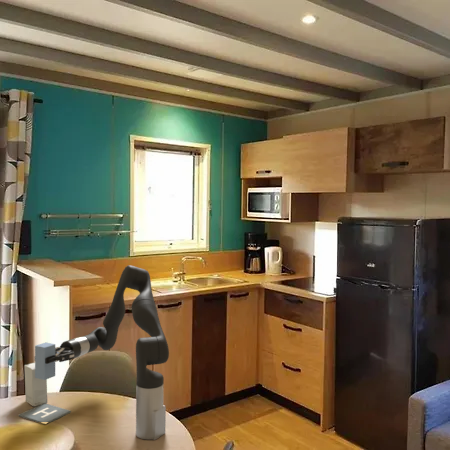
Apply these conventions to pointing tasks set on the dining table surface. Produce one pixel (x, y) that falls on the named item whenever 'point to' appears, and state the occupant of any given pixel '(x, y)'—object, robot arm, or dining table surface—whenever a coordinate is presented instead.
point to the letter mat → (44, 413)
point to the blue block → (41, 367)
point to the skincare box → (34, 387)
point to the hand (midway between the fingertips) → (40, 359)
